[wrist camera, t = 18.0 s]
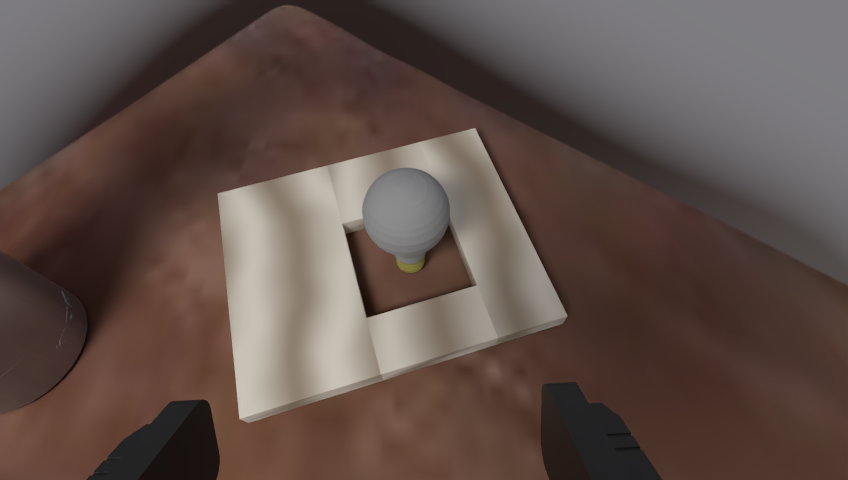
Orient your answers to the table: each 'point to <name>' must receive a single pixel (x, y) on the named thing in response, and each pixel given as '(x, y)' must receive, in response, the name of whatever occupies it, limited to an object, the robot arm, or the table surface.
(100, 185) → the table surface
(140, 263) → the table surface
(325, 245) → the cream board with hole
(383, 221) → the light bulb
